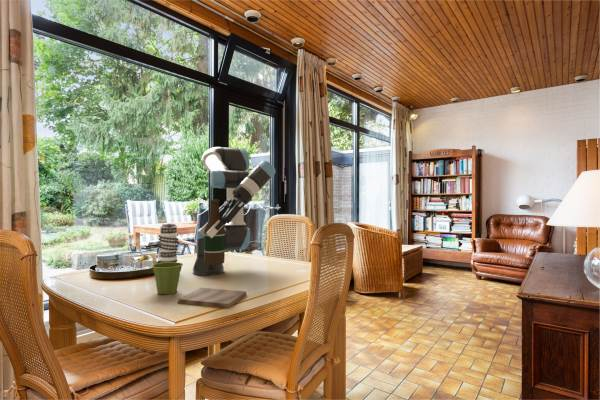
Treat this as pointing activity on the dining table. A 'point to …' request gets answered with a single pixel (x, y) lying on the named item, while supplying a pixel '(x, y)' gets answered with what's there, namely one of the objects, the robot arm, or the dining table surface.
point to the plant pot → (167, 276)
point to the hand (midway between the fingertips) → (205, 234)
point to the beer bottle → (214, 238)
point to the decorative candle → (168, 243)
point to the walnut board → (212, 297)
